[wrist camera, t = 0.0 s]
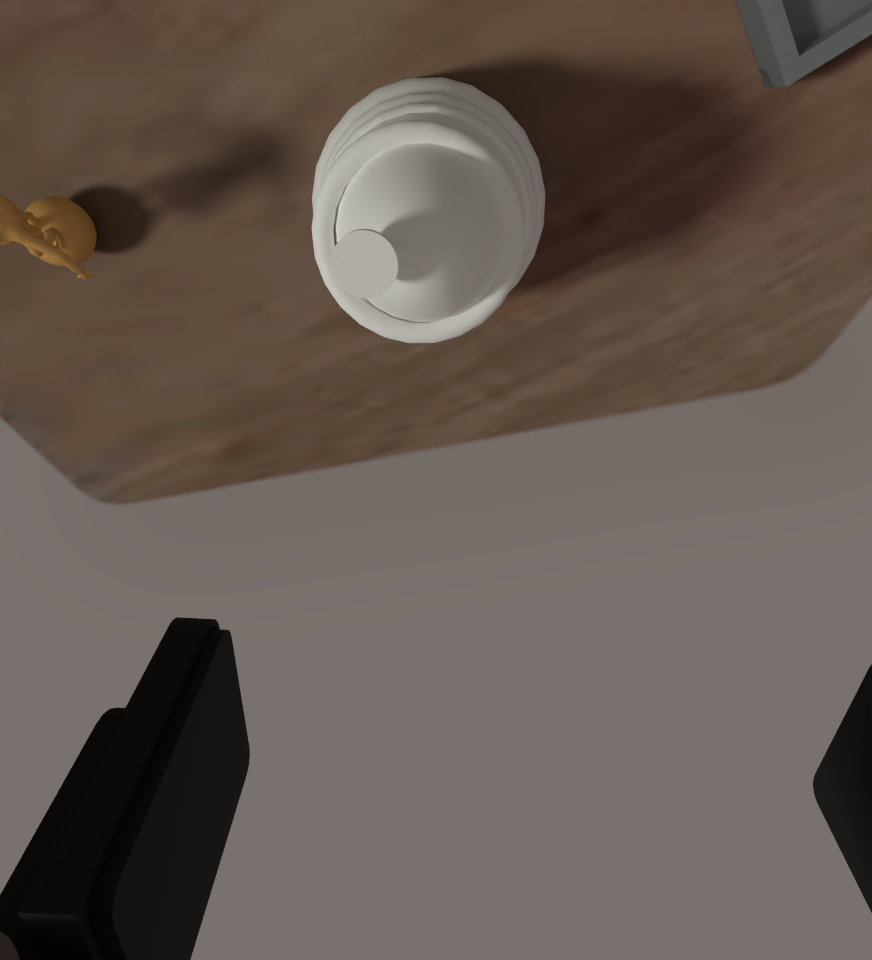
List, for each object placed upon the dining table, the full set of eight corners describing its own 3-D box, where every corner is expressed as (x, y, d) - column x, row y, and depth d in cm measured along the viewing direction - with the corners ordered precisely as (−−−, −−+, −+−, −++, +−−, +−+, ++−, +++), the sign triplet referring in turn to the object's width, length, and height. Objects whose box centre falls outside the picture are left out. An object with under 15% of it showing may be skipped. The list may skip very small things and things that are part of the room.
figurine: (1, 211, 42) (-146, 253, 32) (33, 124, 40) (-115, 140, 30) (124, 290, 45) (25, 353, 34) (162, 213, 42) (67, 256, 32)
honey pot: (324, 291, 44) (253, 404, 29) (329, 63, 38) (240, 53, 22) (517, 313, 45) (548, 437, 29) (555, 91, 38) (621, 100, 23)
